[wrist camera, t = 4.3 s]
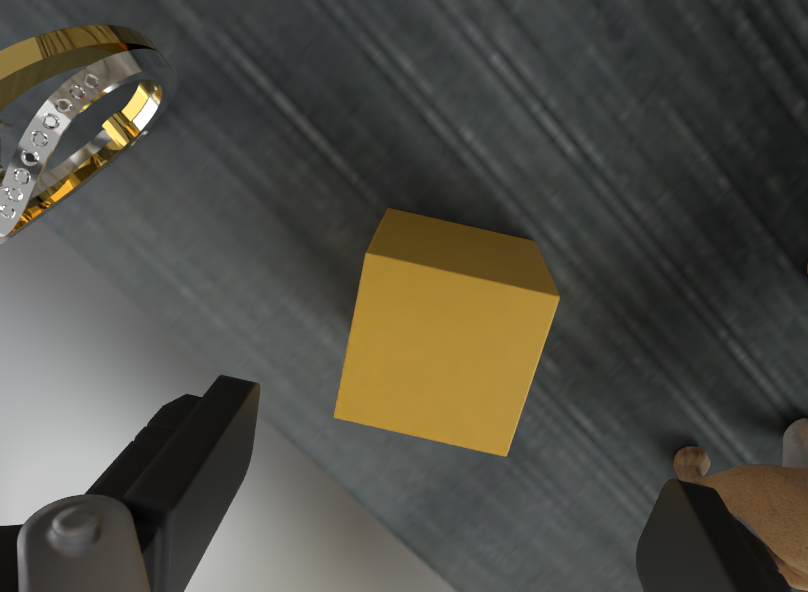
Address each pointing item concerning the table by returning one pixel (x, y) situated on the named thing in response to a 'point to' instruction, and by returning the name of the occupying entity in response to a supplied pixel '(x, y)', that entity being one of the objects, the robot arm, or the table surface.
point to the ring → (75, 111)
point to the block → (446, 332)
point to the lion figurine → (765, 498)
